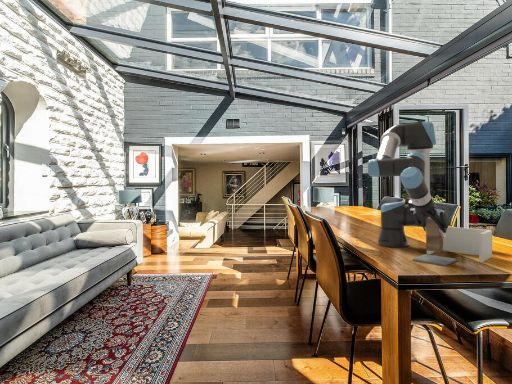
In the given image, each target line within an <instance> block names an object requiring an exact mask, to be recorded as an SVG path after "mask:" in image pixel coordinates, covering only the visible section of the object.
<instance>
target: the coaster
mask: <svg viewBox="0 0 512 384" xmlns="http://www.w3.org/2000/svg"><path fill="white" fill-rule="evenodd" d="M411 260H412V261H414V262H419V263H424V264H431V265H437V266H442V267H446V266H448V265H450V264H453V263H454V262H456V261H457V258H453V257H447V256H440V255H433V254H427V253H424V254H421V255H419V256H416V257H414V258H412V259H411Z"/></svg>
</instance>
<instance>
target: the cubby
mask: <svg viewBox="0 0 512 384" xmlns="http://www.w3.org/2000/svg"><path fill="white" fill-rule="evenodd" d="M446 229H447V230H446V237H445V239H443V251H444V252H451V253H457V254H466V255H472V256H478V262H479V263H484V262H485V261H487V260H489V259H491V258H492V257H493V234H492V231H493V229H487V230H482V229H483V228H470V227H459V226H458V227H457V226H448V228H446ZM443 251H442V252H443ZM434 253H435V252H433V251H426V254H428V255H432V254H434Z"/></svg>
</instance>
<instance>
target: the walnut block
mask: <svg viewBox="0 0 512 384" xmlns="http://www.w3.org/2000/svg"><path fill="white" fill-rule="evenodd" d="M425 251H426V252H427V251H433V252H434V253H440V252H443V238H442V235H441V233H440V231H439V226H438V225H437V224H436V223H435V221H434V220H433V219H431V218H426V231H425Z"/></svg>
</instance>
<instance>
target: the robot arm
mask: <svg viewBox="0 0 512 384" xmlns="http://www.w3.org/2000/svg"><path fill="white" fill-rule="evenodd" d="M434 126H435V125H434V123H433V122H432V121H420V122H410V123H399V124H396V125H393V126H392V127H390V128H388V129H387V130H386V131H385V132H384V133H383V134H382V135H381V137H380V140H379V143H380V145H379V149H378V151H377V154H376V157H375V158H374V159H369V160H368V161H367V173H368V176H370V177H377V178H379V177H399V178H400V180H401V184H402V186H403V187H404V189H405V192H406V193H407V195H408V197H409V198H408V199H409V200H408V202H407V204H405V202H404V201H395V202H385V203H383V204H382V205H381V206H380V231H379V236H378V238H377V245H379V246H381V247H382V246H383V247H388V248H404V247H408V246H409V244H408V243H409V241H408V239H407V236H406V233H405V227H415V228H417V227H418V228H419V227H420V228H423V230H424V232H426V218H431V219H433V220H434V221H435V223H436V224H437V225H438V226H439V231H440V233H441V235H442V238H443V239H445V237H446V230H447V229H446V228H448V227H450V226H449V225H450V222H449V220H448V217H447V215H446V212H445V211H446V209H445V208H441V209H439V208H437V205H436V204H435V202H434V200H433V197H432V195H431V191H430V189H431V187H430V186H431V184H430V182H431V181H430V179H431V177H430V175H431V173H430V170H431V169H430V168H431V167H430V165H431V164H430V155H431V153H430V152H431V151H432V150H434V146H435V145H437V139H436V132H435V127H434ZM401 147H402V148H403V147H407V151H408V152H409V153H407V155H406V156H405V157H397V158H395V157H396V153H397V149H398V148H401Z"/></svg>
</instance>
